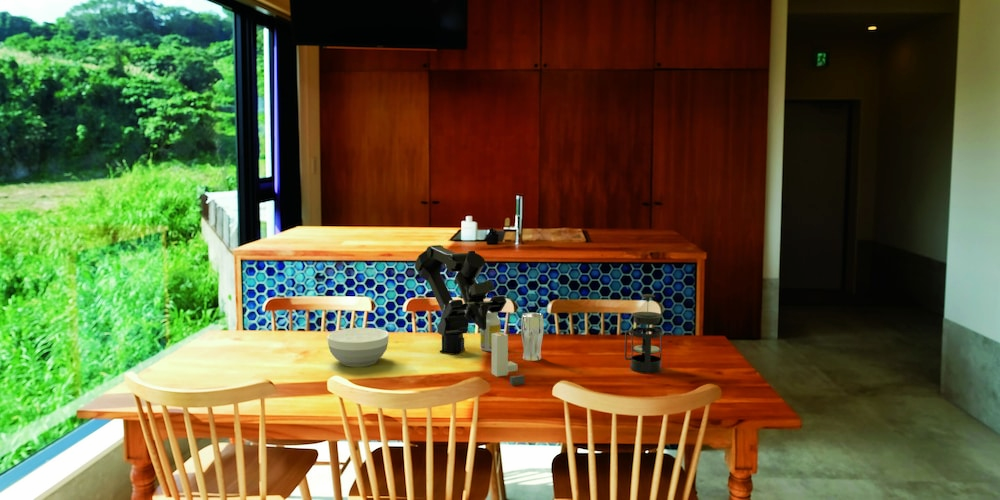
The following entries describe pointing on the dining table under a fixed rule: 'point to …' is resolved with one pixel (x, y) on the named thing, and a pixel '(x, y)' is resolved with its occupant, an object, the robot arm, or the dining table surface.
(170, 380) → the dining table surface
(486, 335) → the supplement bottle
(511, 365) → the console board
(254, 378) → the dining table surface
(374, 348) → the bowl
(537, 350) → the beer glass
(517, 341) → the dining table surface
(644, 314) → the french press
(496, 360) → the white rectangular block
